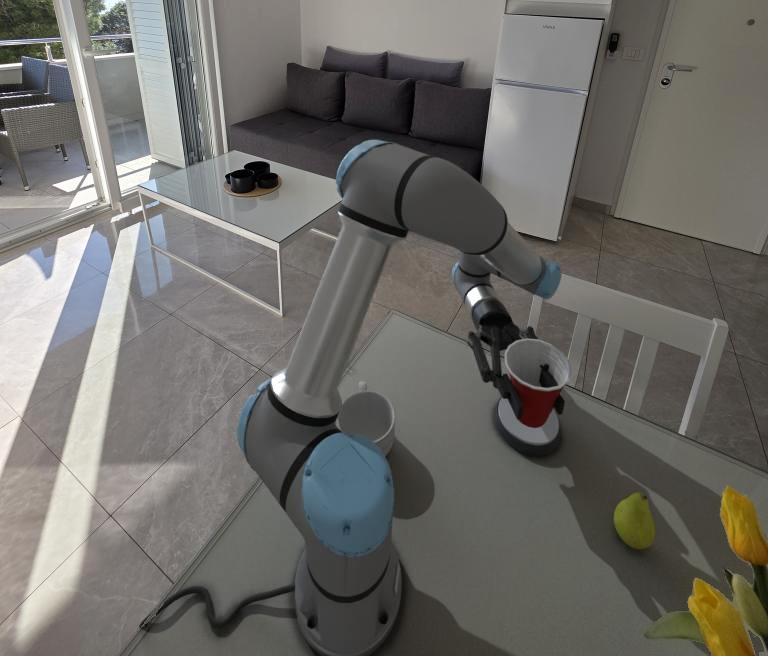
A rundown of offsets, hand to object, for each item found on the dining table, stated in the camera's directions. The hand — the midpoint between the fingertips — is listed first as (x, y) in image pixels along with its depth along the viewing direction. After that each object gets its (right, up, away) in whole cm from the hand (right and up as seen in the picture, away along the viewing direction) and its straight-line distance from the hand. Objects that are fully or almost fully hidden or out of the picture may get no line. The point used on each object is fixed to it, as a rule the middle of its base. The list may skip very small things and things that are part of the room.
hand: (541, 410), depth 69 cm
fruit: (+14, -20, -1) cm, 24 cm away
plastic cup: (0, -5, +7) cm, 8 cm away
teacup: (-29, -14, +14) cm, 35 cm away
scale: (+3, -14, +17) cm, 22 cm away
